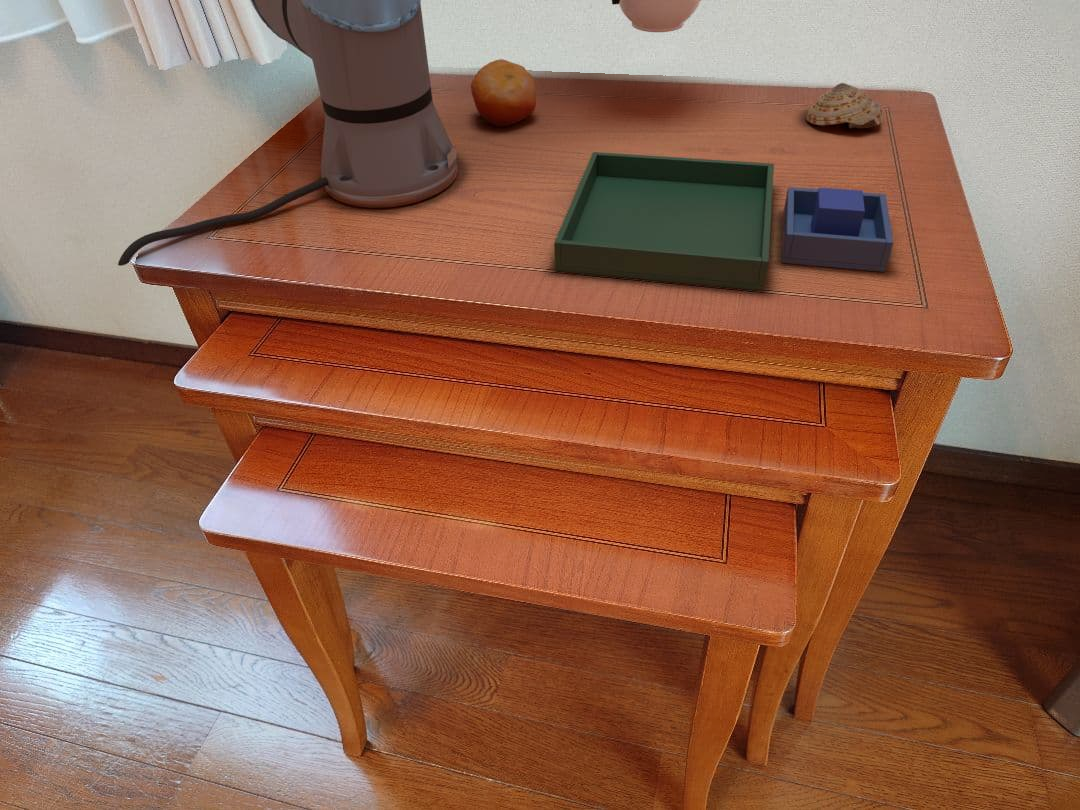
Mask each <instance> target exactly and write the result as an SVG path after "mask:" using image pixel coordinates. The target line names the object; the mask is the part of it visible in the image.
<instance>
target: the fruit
mask: <svg viewBox="0 0 1080 810" xmlns="http://www.w3.org/2000/svg"><path fill="white" fill-rule="evenodd" d="M470 90H471V96H472V99H473V103H474V106H475V109H476V111H477V112H478V113H479V114H478V115H477V117H482V118H483V119H484V121H486V122H488V123H489V124H492V125H494V126H495V127H497V128H505V127H508V126H511V125H514V124H517V123H518V122H520V121H523V120H524V119H526V118H528V117H529V116H530V115H531V114H532V113H533V112H534V111H535V110H536V106H537V89H536V80H535V78H534V77H533V76H532V75H531V74H530V73H529V72H528V70H527V69H526V68H525V66H523V65H521V64H518V63H515V62H512V61H508V60H507V59H503V58H500V59H496V60H493V61H489V62H488V63H487V64H485V65H484V66H482V67H481V68H480V69H479V70H478V71H477V73H475V75H474V77H473V79H472V81H471V83H470Z"/></svg>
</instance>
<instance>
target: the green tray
mask: <svg viewBox="0 0 1080 810" xmlns="http://www.w3.org/2000/svg"><path fill="white" fill-rule="evenodd" d="M774 170H775V163H770V162H755V161H754V162H753V161H741V160H740V161H739V160H738V161H737V160H722V159H710V158H709V159H708V158H707V159H706V158H691V157H690V158H689V157H679V156H678V157H676V156H662V155H661V156H660V155H647V154H645V155H644V154H630V153H614V152H597V151H593V152H592V153H591V156H590V158H589V160H588V163H587V165H586V167H585V170H584V172H583V174H582V176H581V179H580V181H579V183H578V186H577V188H576V191H575V192H574V196H573V198H572V200H571V203H570V205H569V207H568V209H567V211H566V214H565V217H564V219H563V221H562V224H561V226H560V228H559V230H558V233H557V236H556V238H555V240H554V242H553V243H554V244H553V246H554V271H555V272H564V273H572V274H574V273H575V274H584V275H593V276H595V275H596V276H605V277H616V278H624V279H625V278H627V279H635V280H648V281H656V282H657V281H658V282H667V283H676V284H688V285H698V286H708V287H709V286H710V287H719V288H731V289H739V290H740V289H741V290H752V291H761V292H763V291H764V290H765V285H766V279H767V274H768V267H769V262H770V261H769V260H770V244H771V228H772V227H771V225H772V223H771V222H772V211H773V210H772V207H773V190H774V189H773V188H774V172H775V171H774Z"/></svg>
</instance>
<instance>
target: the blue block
mask: <svg viewBox="0 0 1080 810" xmlns="http://www.w3.org/2000/svg"><path fill="white" fill-rule="evenodd" d="M817 189H818V193H817V198H816V202H815V207H814V212H813V217H812V221H811V233H818V234H830V235H843V236H855V237H858V236H859V232H860V228H861V225H862V221H863V217H864V213H865V208H864V199H863V193H864V191H863V190H859V189H846V188H845V189H844V188H832V187H831V188H830V187H818V188H817Z"/></svg>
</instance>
